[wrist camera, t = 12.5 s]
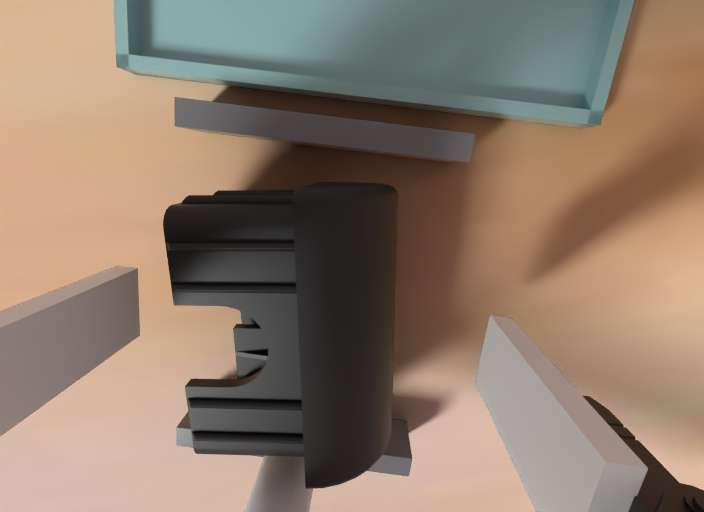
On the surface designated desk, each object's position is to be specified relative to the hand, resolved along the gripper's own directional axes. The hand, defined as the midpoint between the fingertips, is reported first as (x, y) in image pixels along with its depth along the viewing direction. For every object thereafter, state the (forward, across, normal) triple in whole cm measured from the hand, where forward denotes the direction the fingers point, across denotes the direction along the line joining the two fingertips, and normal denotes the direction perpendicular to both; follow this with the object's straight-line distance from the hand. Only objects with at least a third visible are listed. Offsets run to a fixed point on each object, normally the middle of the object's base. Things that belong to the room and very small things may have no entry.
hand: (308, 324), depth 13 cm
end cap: (+4, 0, 0) cm, 4 cm away
